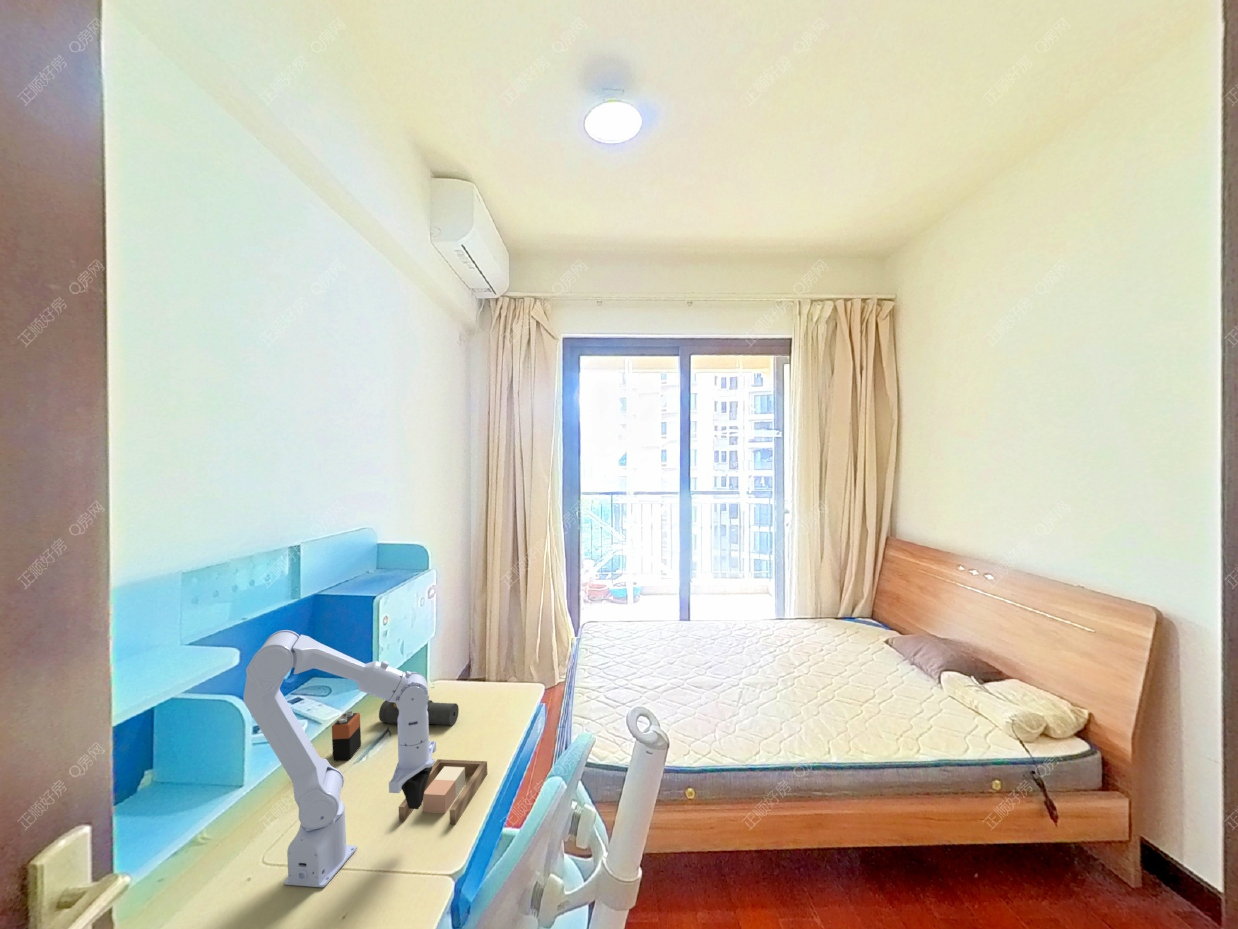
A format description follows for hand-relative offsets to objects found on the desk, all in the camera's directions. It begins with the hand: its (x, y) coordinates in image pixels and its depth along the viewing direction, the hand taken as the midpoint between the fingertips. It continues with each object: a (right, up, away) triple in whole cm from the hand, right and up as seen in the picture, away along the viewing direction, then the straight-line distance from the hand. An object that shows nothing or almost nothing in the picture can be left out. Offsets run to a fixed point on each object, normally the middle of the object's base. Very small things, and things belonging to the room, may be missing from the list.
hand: (415, 806), depth 103 cm
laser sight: (-17, -7, +46) cm, 50 cm away
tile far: (+2, -6, +15) cm, 16 cm away
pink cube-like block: (+2, -6, +10) cm, 12 cm away
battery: (-30, -7, +31) cm, 44 cm away
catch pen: (+2, -6, +12) cm, 14 cm away
